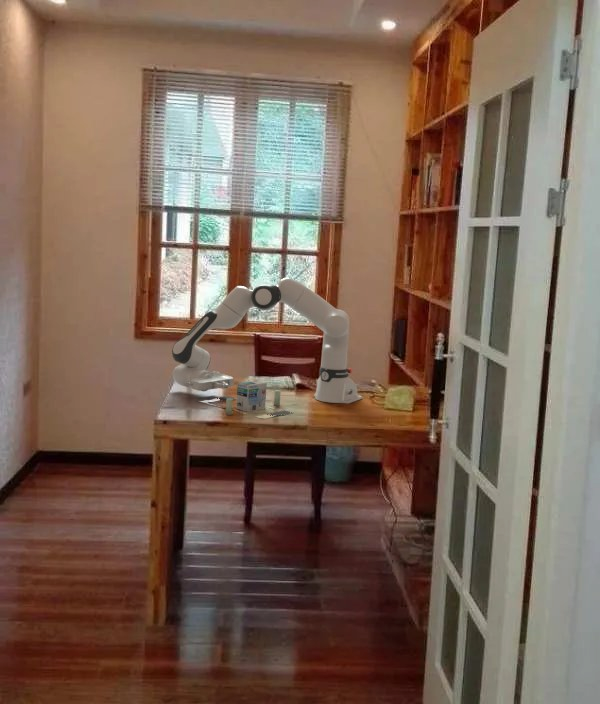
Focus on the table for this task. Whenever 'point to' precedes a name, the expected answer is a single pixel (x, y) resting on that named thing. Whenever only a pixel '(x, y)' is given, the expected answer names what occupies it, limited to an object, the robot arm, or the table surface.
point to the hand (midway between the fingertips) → (225, 386)
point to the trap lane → (276, 402)
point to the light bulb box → (251, 395)
